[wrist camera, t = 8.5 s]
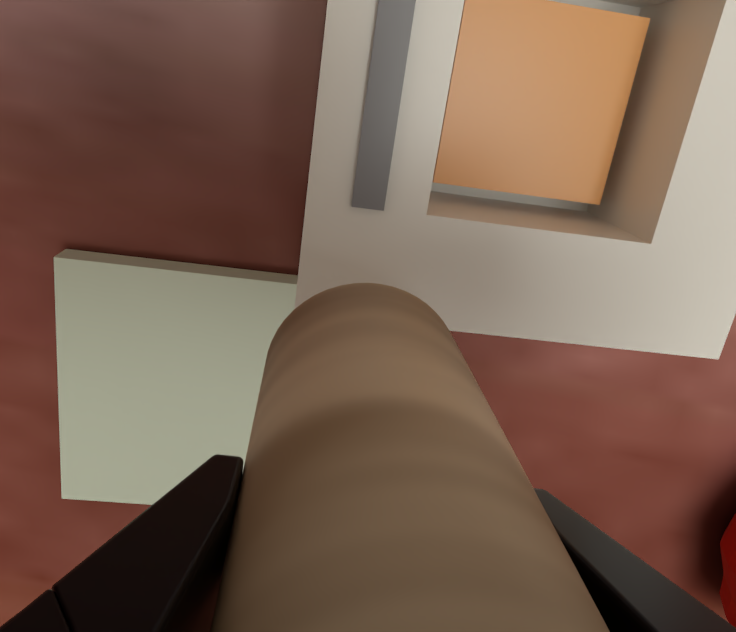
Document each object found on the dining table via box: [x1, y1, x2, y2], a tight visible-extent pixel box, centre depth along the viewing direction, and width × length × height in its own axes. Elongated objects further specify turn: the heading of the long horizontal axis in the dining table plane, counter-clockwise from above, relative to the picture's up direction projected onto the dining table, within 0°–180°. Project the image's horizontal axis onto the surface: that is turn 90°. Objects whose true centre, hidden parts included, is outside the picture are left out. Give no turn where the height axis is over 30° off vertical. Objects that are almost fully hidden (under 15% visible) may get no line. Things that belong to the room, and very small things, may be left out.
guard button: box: [432, 0, 651, 205], centre depth 18 cm, size 5×5×2 cm
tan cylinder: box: [210, 283, 610, 632], centre depth 8 cm, size 4×4×10 cm
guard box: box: [294, 0, 736, 359], centre depth 17 cm, size 12×12×5 cm
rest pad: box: [54, 249, 298, 505], centre depth 22 cm, size 9×9×1 cm
